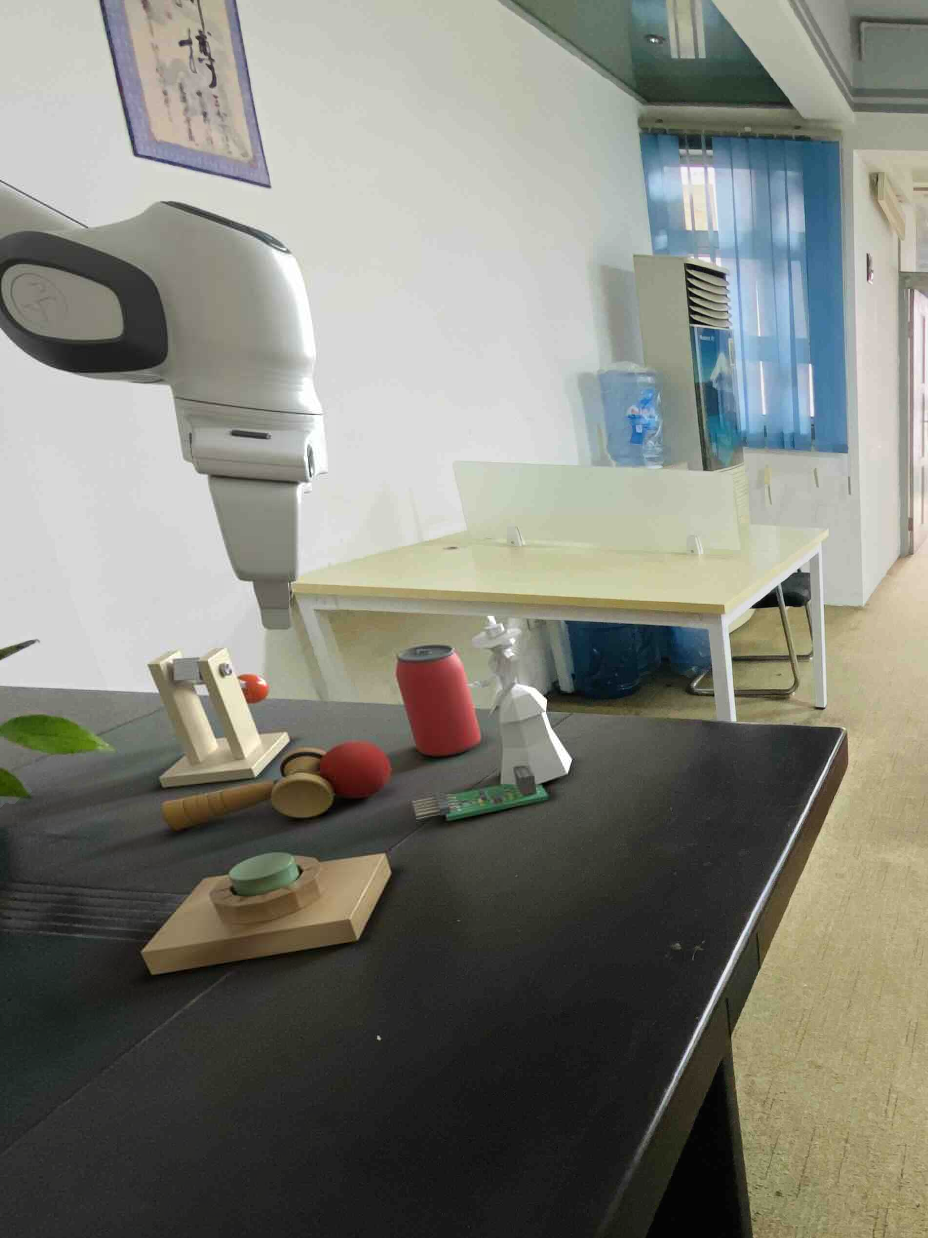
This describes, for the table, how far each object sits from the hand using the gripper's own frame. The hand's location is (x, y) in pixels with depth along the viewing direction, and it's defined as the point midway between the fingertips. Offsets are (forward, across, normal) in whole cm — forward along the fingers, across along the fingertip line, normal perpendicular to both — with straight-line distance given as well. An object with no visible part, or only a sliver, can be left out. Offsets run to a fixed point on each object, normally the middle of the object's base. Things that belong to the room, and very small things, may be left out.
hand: (279, 614), depth 69 cm
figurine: (+19, -5, +20) cm, 28 cm away
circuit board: (+21, -1, +14) cm, 25 cm away
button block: (+23, +12, -2) cm, 26 cm away
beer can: (+21, -18, +13) cm, 30 cm away
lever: (+17, -30, -7) cm, 35 cm away
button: (+19, +12, -2) cm, 23 cm away
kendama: (+23, -10, -2) cm, 25 cm away
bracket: (+23, -26, -7) cm, 36 cm away
